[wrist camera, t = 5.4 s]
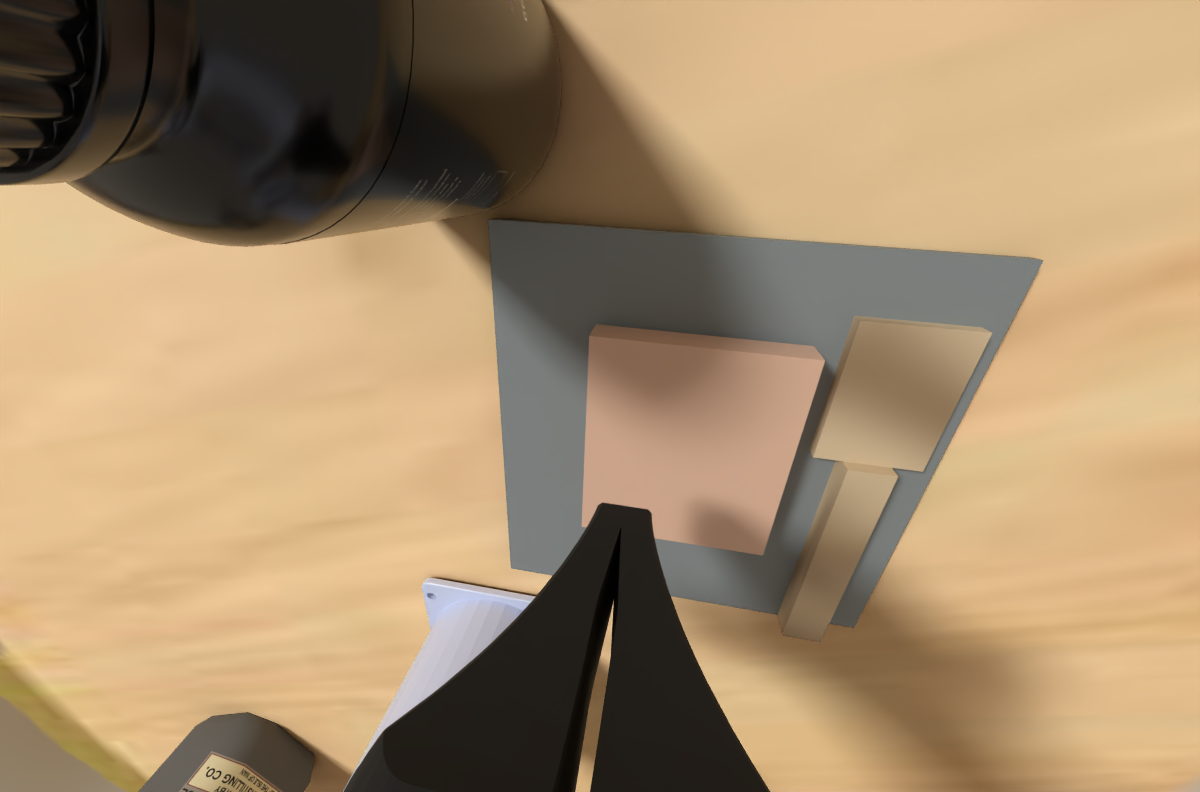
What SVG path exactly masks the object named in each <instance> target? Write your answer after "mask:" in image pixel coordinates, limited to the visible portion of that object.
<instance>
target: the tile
mask: <svg viewBox="0 0 1200 792" xmlns="http://www.w3.org/2000/svg"><path fill="white" fill-rule="evenodd" d="M824 363H825V360H824V358H823V357H822V356H821V355H820V353H819V352H818V351H817V349H816V348H815V347H814V346H808V345H798V344H788V343H778V342H768V341H758V340H748V339H738V338H728V337H718V336H709V335H699V334H689V333H679V332H669V331H659V330H649V329H639V328H629V327H619V326H609V325H599V324H596V325H595V327H594V328H593V330H592V332H591V334H590V336H589V356H588V380H587V405H586V429H585V454H584V478H583V503H582V527H587V526H588V524H589V522H590V521H591V519H592V517H593V515H594V513H595V511H596V509H597V506H598V505H599V504H601V503H602V502H603V503H609V504H616V505H623V506H629V507H636V508H642V509H648V510H649V511H650V512H651V513H652V525H653V532H654V538H656V539H662V540H669V541H675V542H681V543H688V544H694V545H700V546H706V547H713V548H719V549H725V550H732V551H738V552H744V553H750V554H757V555H763V554H764V550H765V547H766V544H767V541H768V538H769V535H770V532H771V529H772V525H773V522H774V519H775V516H776V513H777V510H778V507H779V504H780V500H781V497H782V494H783V491H784V488H785V485H786V482H787V479H788V475H789V472H790V469H791V466H792V463H793V460H794V457H795V454H796V450H797V447H798V444H799V441H800V438H801V435H802V432H803V428H804V425H805V422H806V419H807V416H808V413H809V410H810V407H811V403H812V400H813V397H814V394H815V391H816V388H817V385H818V382H819V378H820V375H821V372H822V369H823V366H824Z"/></svg>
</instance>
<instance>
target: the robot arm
mask: <svg viewBox="0 0 1200 792" xmlns="http://www.w3.org/2000/svg"><path fill="white" fill-rule="evenodd" d="M422 590H423V595H424V600H425V605H426V609H427V614H428V619H429V624H430V628H431V631H430V633H429V634H428V636H427V638H426V640H425V642H424V644H423V645H422V647H421V649H420V651H419V653H418V655H417V656H416V658H415V660H414V662H413V664H412V666H411V667H410V669H409V671H408V673H407V675H406V677H405V678H404V680H403V682H402V684H401V686H400V688H399V689H398V691H397V693H396V695H395V697H394V699H393V700H392V702H391V704H390V706H389V708H388V710H387V711H386V713H385V715H384V717H383V719H382V721H381V722H380V724H379V726H378V728H377V730H376V732H375V733H374V735H373V737H372V739H371V741H370V743H369V744H368V746H367V748H366V750H365V752H364V754H363V756H362V757H361V759H360V761H359V763H358V765H357V767H356V768H355V770H354V772H353V774H352V776H351V778H350V779H349V781H348V783H347V785H346V787H345V789H344V790H343V792H575V790H576V783H577V777H578V770H579V764H580V758H581V751H582V745H583V739H584V733H585V726H586V720H587V714H588V708H589V702H590V698H591V693H592V688H593V683H594V679H595V675H596V671H597V667H598V663H599V659H600V655H601V650H602V646H603V642H604V638H605V634H606V630H607V626H608V622H609V617H610V613H611V609H612V605H613V601H614V608H613V626H612V644H611V659H610V666H609V673H608V679H607V686H606V693H605V699H604V706H603V712H602V719H601V725H600V732H599V739H598V745H597V751H596V758H595V764H594V771H593V777H592V784H591V790H590V792H770V791H769V789H768V787H767V786H766V784H765V783H764V781H763V779H762V778H761V776H760V775H759V773H758V771H757V770H756V768H755V767H754V765H753V763H752V762H751V760H750V758H749V757H748V755H747V753H746V751H745V750H744V748H743V746H742V745H741V743H740V741H739V740H738V738H737V736H736V734H735V733H734V731H733V729H732V728H731V726H730V724H729V722H728V720H727V718H726V716H725V714H724V713H723V711H722V709H721V707H720V705H719V703H718V701H717V699H716V698H715V696H714V694H713V692H712V690H711V688H710V686H709V684H708V683H707V681H706V679H705V676H704V674H703V672H702V670H701V668H700V666H699V664H698V662H697V660H696V658H695V655H694V653H693V651H692V649H691V646H690V644H689V642H688V640H687V637H686V635H685V633H684V630H683V628H682V625H681V623H680V620H679V618H678V615H677V612H676V610H675V607H674V604H673V601H672V599H671V596H670V593H669V590H668V587H667V584H666V580H665V577H664V574H663V570H662V567H661V563H660V560H659V556H658V552H657V547H656V543H655V538H654V532H653V525H652V513H651V512H650V511H649V510H648V509H642V508H636V507H629V506H623V505H616V504H609V503H603V502H602V503H601V504H599V505H598V506H597V509H596V511H595V513H594V515H593V517H592V519H591V521H590V522H589V524H588V526H587V528H586V529H585V531H584V532H583V534H582V536H581V537H580V539H579V540H578V542H577V543H576V545H575V546H574V548H573V549H572V551H571V552H570V553H569V555H568V556H567V558H566V559H565V561H564V562H563V563H562V565H561V566H560V567H559V569H558V570H557V571H556V572H555V574H554V575H553V576H552V577H551V579H550V580H549V581H548V583H547V584H546V585H545V586H544V588H543V589H542V590H541V591H540V592H539V593H538V595H537V596H530V595H525V594H519V593H514V592H508V591H503V590H497V589H492V588H486V587H481V586H475V585H470V584H464V583H459V582H453V581H448V580H442V579H436V578H427V579H426V580H425V581H424V583H423V584H422Z"/></svg>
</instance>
